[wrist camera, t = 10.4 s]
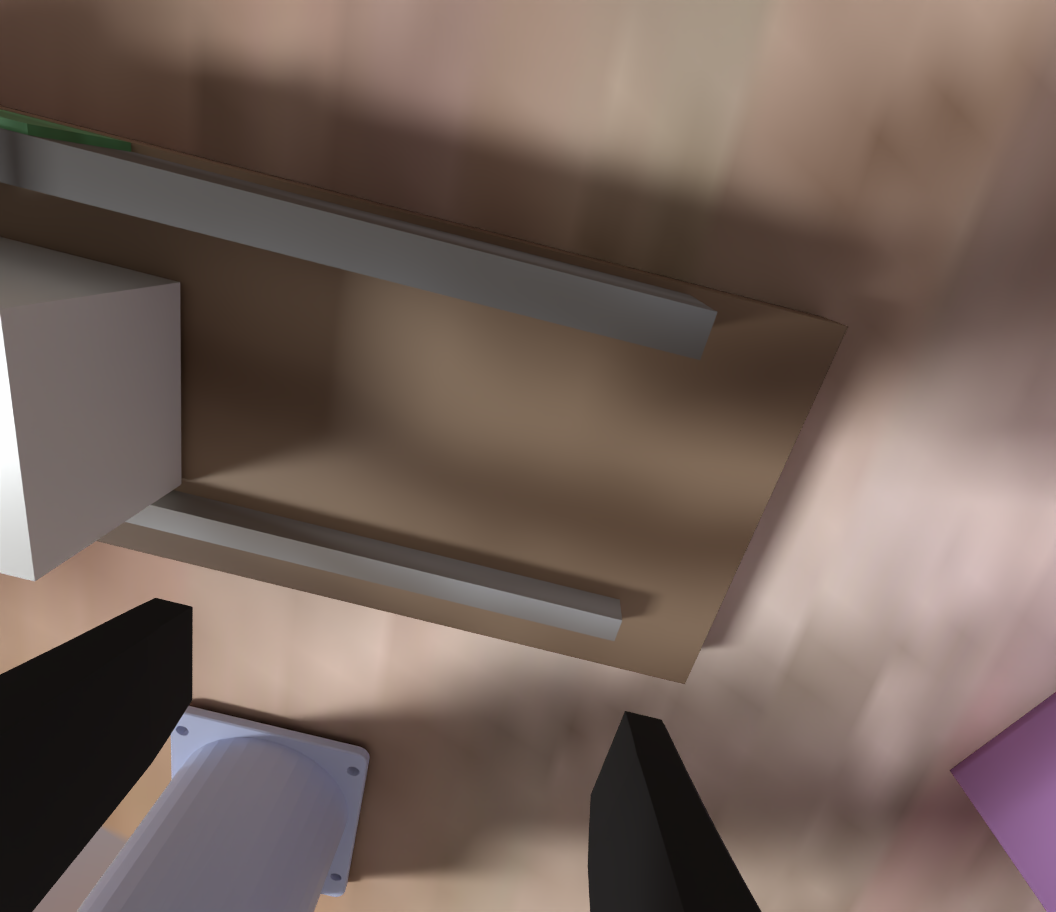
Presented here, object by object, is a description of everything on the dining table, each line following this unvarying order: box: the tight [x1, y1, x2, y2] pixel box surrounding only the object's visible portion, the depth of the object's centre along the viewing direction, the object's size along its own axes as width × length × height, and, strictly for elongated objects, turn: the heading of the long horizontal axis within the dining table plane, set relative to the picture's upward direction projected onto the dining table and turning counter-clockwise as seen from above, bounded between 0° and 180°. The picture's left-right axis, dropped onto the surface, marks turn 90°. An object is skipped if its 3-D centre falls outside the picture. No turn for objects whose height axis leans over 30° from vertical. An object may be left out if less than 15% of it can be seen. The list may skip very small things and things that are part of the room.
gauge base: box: [0, 106, 848, 684], centre depth 14 cm, size 12×30×8 cm, turn 77°
